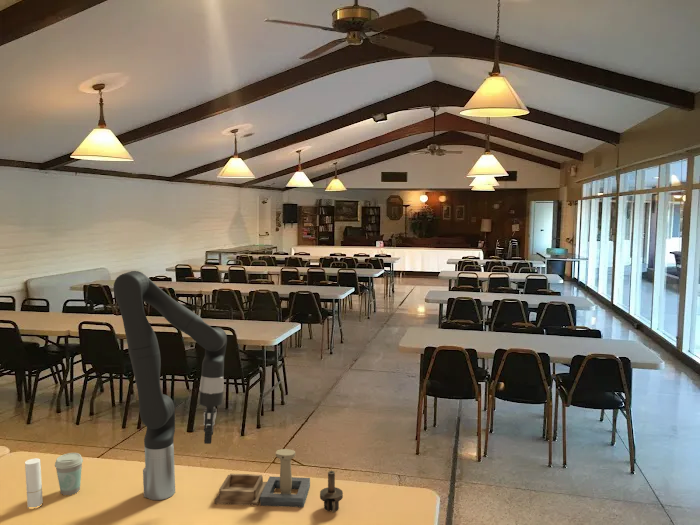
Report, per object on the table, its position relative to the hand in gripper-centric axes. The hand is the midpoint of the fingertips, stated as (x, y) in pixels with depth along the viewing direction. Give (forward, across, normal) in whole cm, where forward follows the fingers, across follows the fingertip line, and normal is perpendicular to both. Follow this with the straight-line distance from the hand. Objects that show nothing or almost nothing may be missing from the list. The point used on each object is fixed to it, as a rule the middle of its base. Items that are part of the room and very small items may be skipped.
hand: (208, 439), depth 190 cm
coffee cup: (+23, -14, -45) cm, 53 cm away
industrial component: (+18, +11, +40) cm, 46 cm away
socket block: (+18, +1, +26) cm, 32 cm away
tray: (+19, -3, +12) cm, 23 cm away
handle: (+18, +1, +26) cm, 32 cm away
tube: (+24, -6, -53) cm, 59 cm away
